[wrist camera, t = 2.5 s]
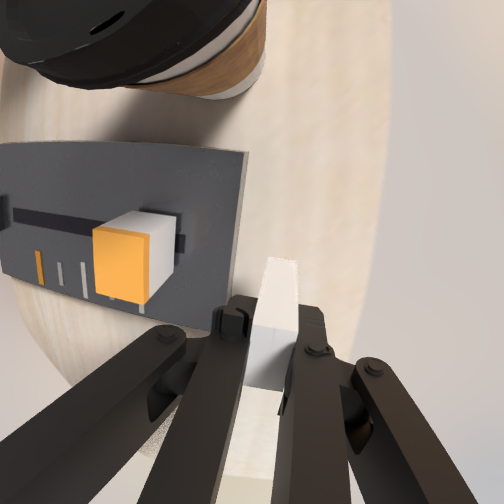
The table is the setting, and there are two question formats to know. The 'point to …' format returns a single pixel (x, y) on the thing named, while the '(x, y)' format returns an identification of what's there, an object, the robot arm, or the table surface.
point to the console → (117, 204)
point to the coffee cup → (139, 43)
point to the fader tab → (133, 255)
